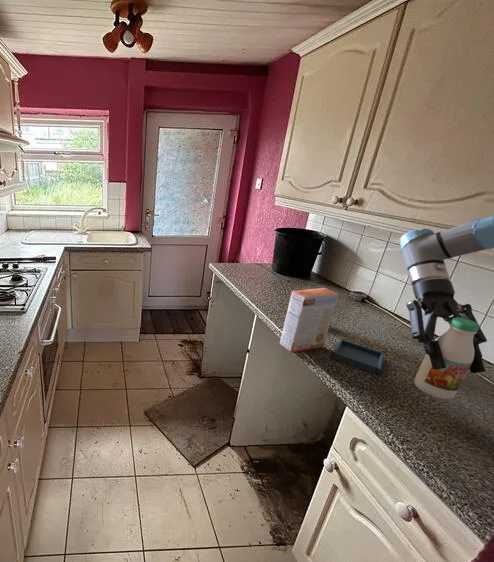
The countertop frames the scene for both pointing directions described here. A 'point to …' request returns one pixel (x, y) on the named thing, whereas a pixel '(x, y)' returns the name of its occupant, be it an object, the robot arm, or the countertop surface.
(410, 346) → the countertop surface
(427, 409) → the countertop surface
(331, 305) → the cracker box
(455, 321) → the milk bottle
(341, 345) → the tray
